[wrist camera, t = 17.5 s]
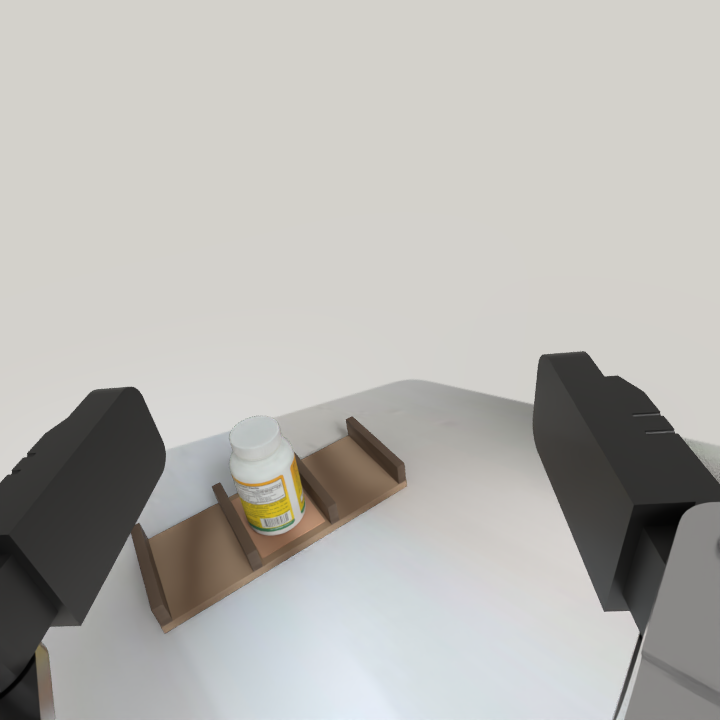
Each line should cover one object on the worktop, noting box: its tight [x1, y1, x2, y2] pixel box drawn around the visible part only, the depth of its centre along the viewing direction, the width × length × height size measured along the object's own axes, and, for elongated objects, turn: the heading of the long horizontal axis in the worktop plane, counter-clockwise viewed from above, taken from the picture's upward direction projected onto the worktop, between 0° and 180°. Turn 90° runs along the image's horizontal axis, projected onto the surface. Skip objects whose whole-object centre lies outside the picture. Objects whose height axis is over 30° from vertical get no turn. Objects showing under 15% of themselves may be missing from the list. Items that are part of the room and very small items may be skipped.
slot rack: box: [131, 417, 407, 633], centre depth 42 cm, size 23×9×3 cm, turn 123°
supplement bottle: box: [229, 416, 306, 536], centre depth 40 cm, size 5×5×10 cm
